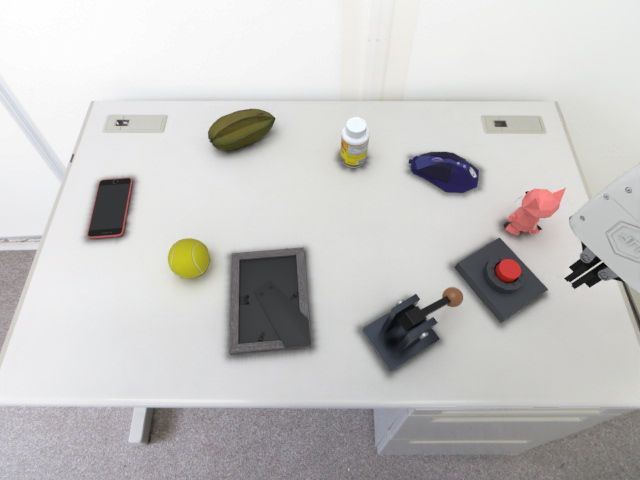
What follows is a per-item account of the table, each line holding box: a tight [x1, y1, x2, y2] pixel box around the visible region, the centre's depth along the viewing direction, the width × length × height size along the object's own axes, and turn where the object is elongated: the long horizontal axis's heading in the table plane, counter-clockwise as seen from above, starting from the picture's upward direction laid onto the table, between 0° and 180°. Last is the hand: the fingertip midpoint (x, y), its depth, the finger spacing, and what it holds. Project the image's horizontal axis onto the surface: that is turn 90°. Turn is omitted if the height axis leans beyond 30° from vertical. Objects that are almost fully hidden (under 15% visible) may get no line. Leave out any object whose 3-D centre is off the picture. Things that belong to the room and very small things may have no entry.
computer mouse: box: [408, 151, 480, 194], centre depth 78 cm, size 9×15×4 cm, turn 75°
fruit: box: [207, 108, 276, 152], centre depth 81 cm, size 11×12×7 cm
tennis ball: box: [167, 237, 211, 279], centre depth 67 cm, size 7×7×7 cm
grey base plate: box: [454, 237, 549, 323], centre depth 66 cm, size 12×10×4 cm
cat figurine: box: [502, 187, 567, 236], centre depth 68 cm, size 7×7×12 cm
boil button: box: [495, 259, 521, 282], centre depth 64 cm, size 4×4×2 cm
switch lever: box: [398, 286, 464, 332], centre depth 58 cm, size 13×3×3 cm, turn 121°
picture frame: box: [228, 247, 312, 356], centre depth 66 cm, size 13×2×18 cm
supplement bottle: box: [340, 116, 371, 169], centre depth 77 cm, size 6×6×10 cm
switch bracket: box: [362, 293, 441, 373], centre depth 58 cm, size 10×8×12 cm
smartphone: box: [86, 177, 133, 239], centre depth 76 cm, size 7×1×14 cm
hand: (577, 278), depth 44 cm, fingers closed
